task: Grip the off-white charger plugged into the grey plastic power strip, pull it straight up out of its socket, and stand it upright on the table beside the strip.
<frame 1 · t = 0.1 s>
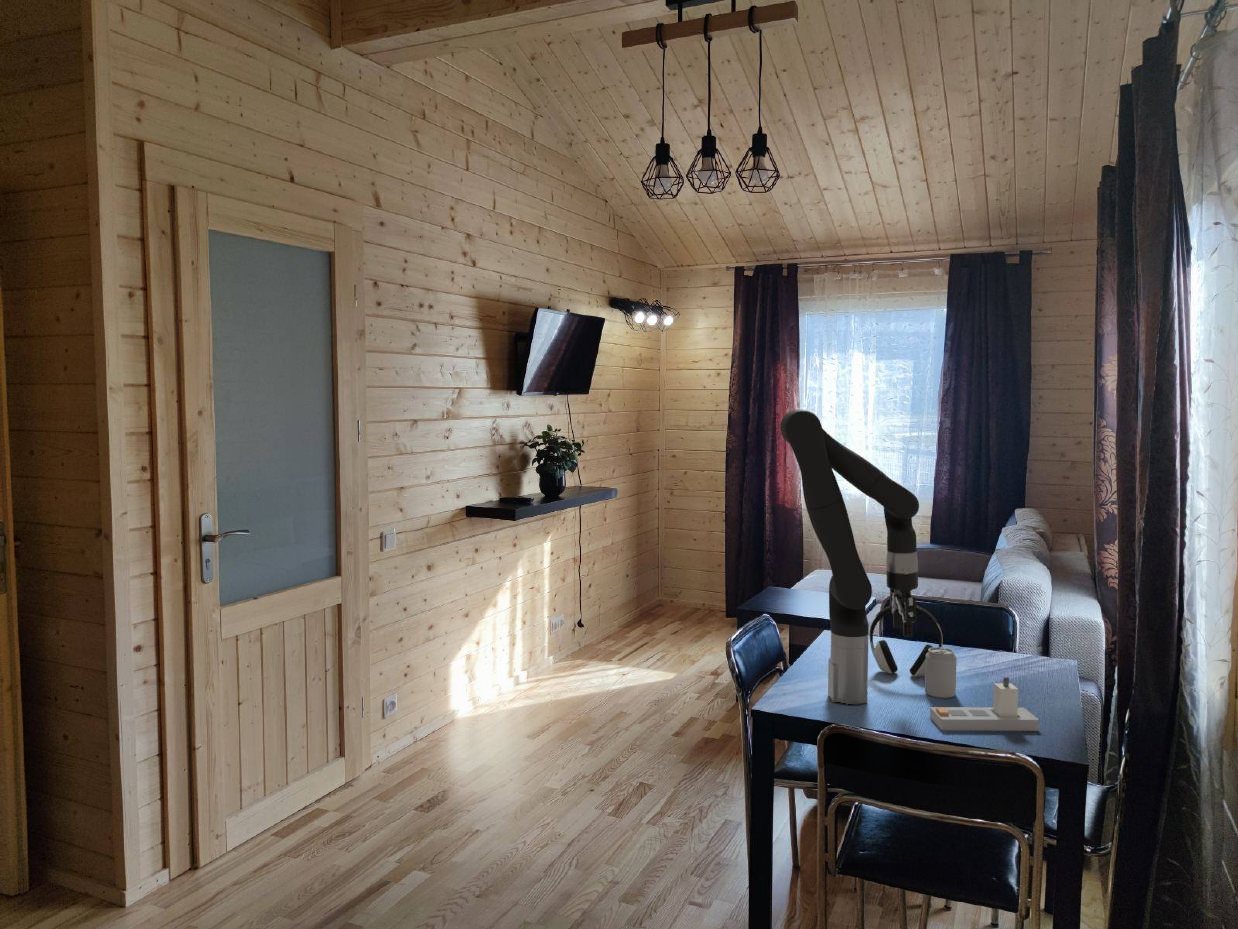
hand: (903, 632, 226), 17 cm above the table, tool pointing down, fingers open, 8 cm apart
headphones: (904, 675, 247), on the table
power strip: (983, 726, 209), on the table
charger: (1004, 724, 209), resting on power strip
can: (940, 696, 230), on the table
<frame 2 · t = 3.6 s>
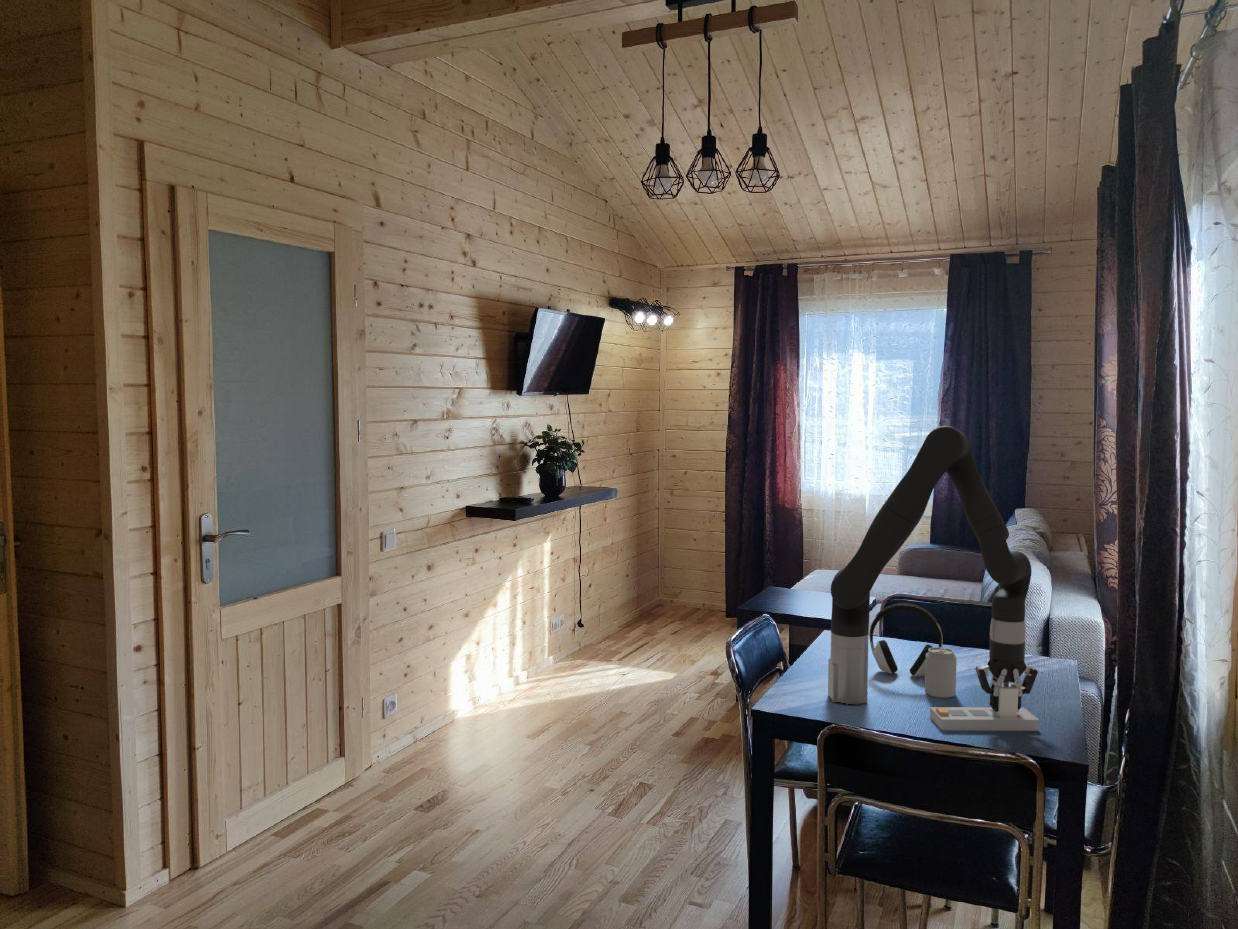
hand: (1005, 710, 208), 4 cm above the table, tool pointing down, fingers closed on charger, 4 cm apart
charger: (1004, 724, 209), resting on power strip, touching gripper
everything else where it was.
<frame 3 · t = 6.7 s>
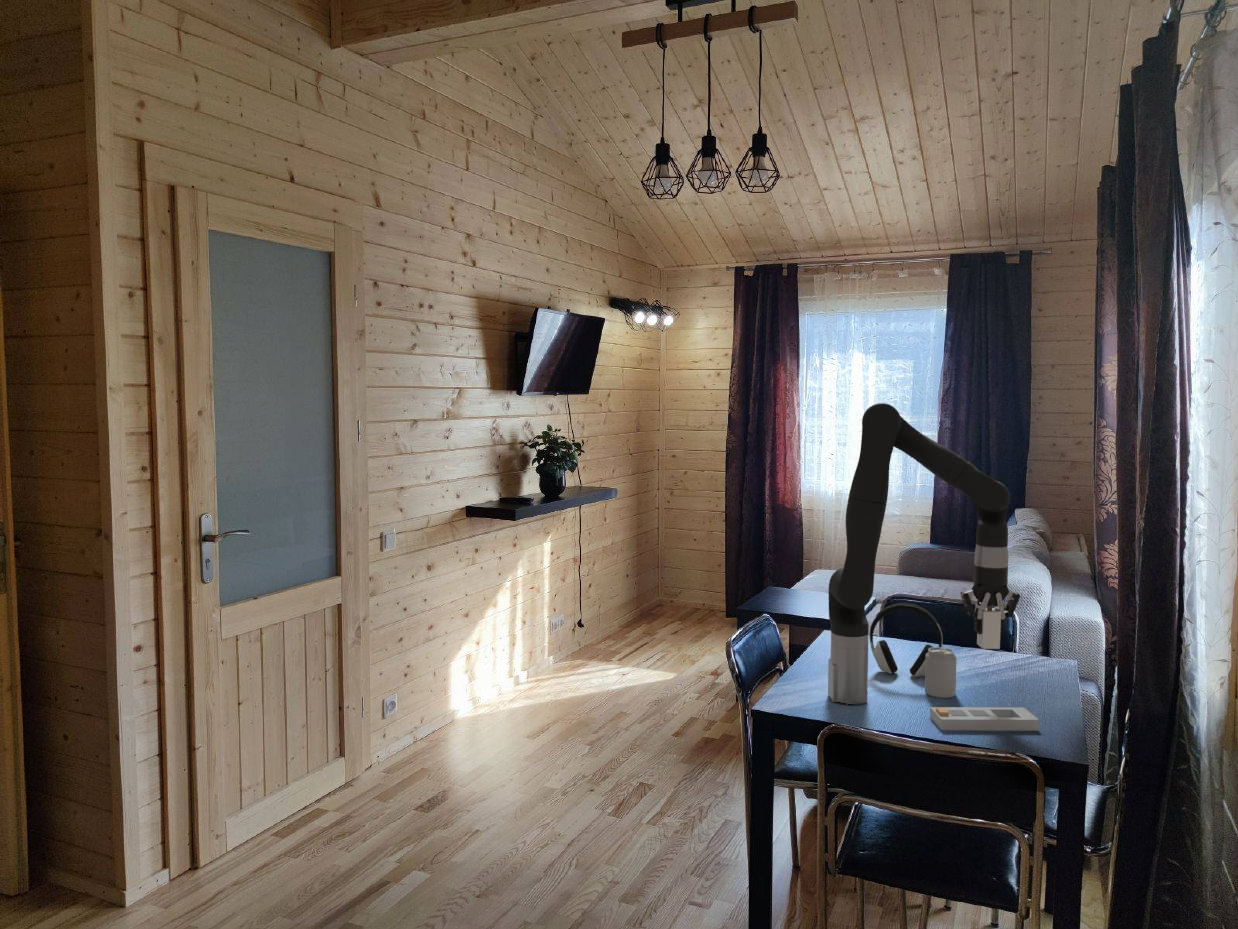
hand: (988, 633, 218), 19 cm above the table, tool pointing down, fingers closed on charger, 4 cm apart
charger: (988, 646, 218), point 16 cm above the table, touching gripper
everything else where it was.
when the fingers open (5 cm above the table, at t = 9.8 s): charger drops 1 cm, on the table.
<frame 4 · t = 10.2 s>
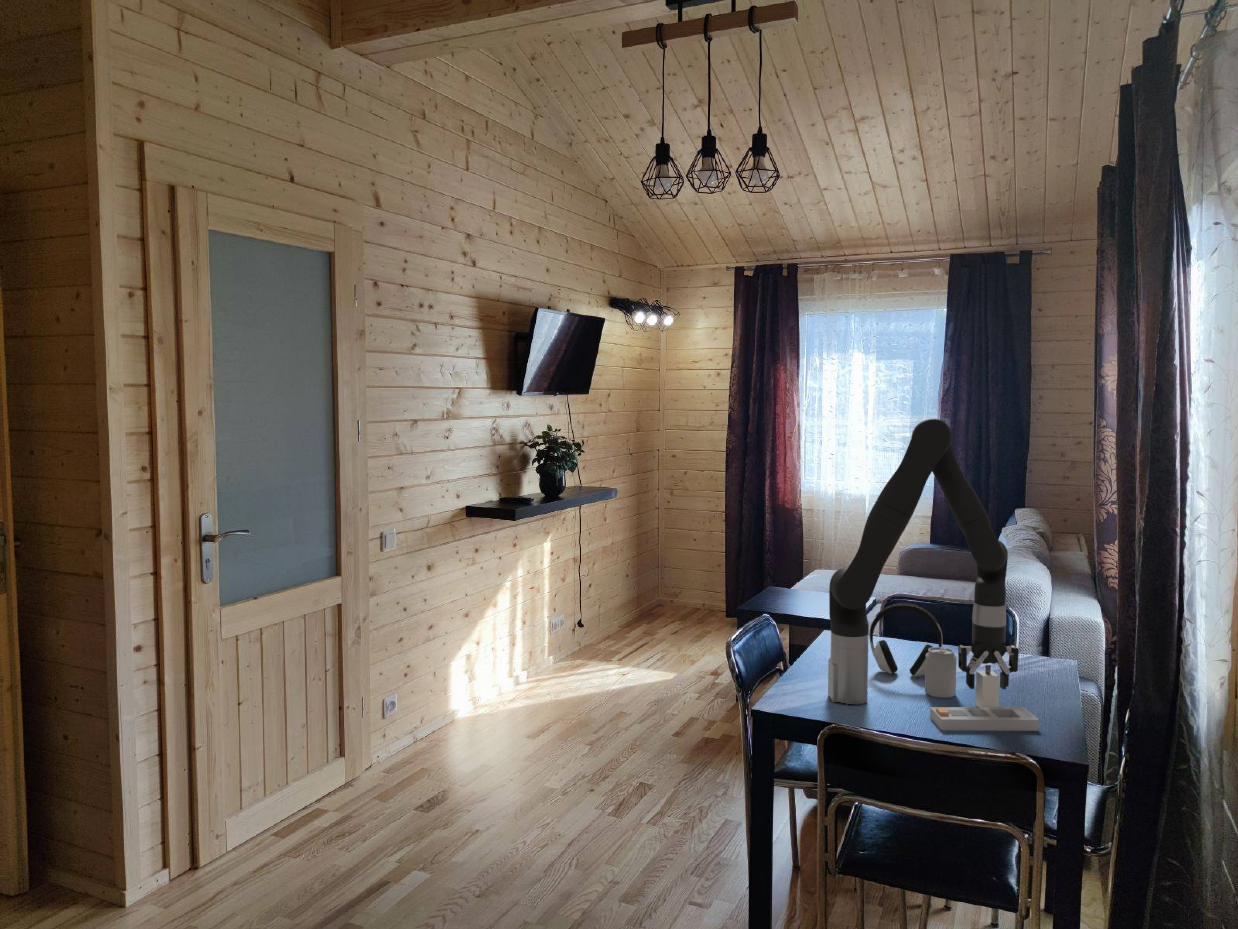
hand: (987, 688, 219), 5 cm above the table, tool pointing down, fingers open, 7 cm apart
charger: (986, 709, 220), on the table
everything else where it was.
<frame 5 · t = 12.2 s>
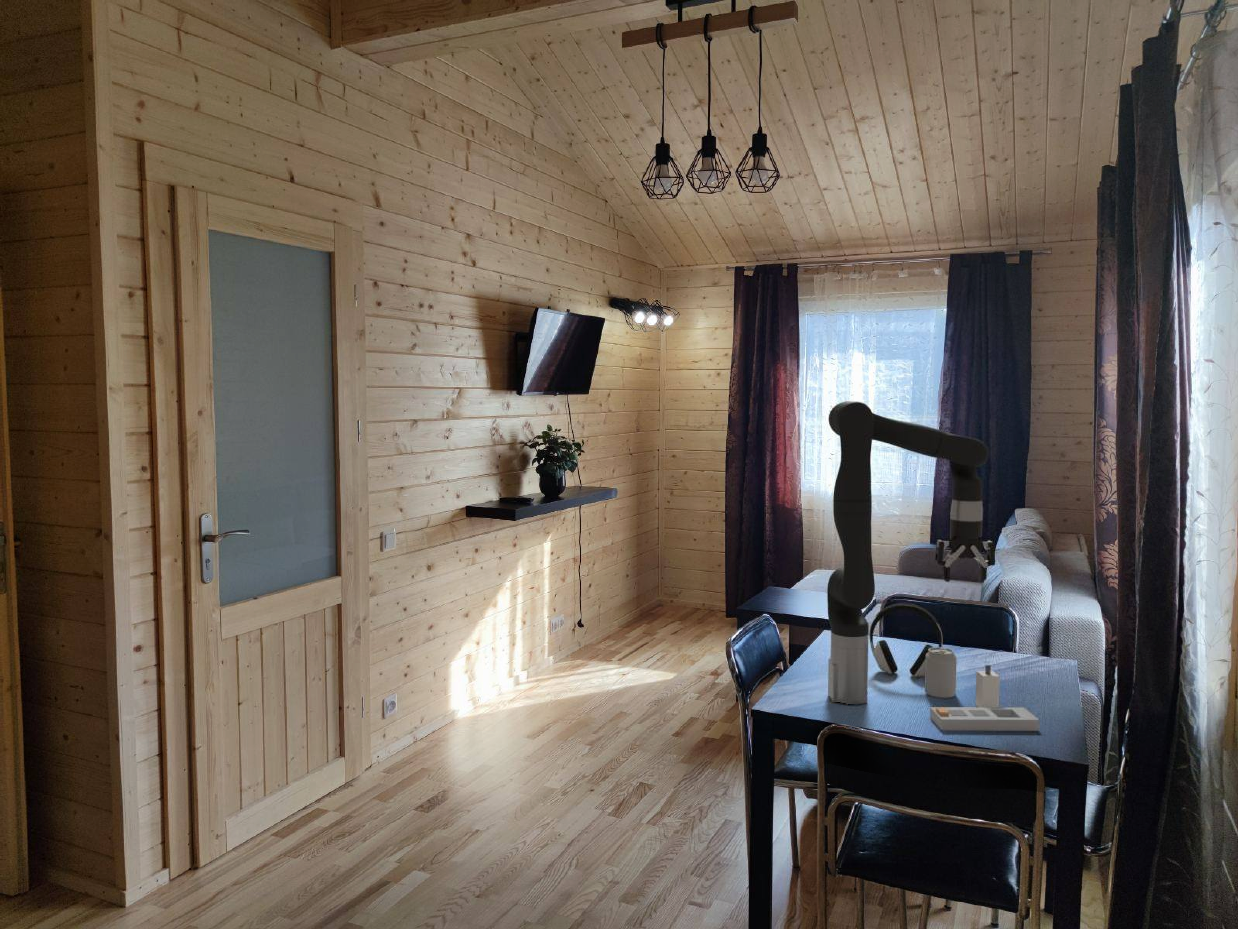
hand: (964, 581, 227), 30 cm above the table, tool pointing down, fingers open, 8 cm apart
nothing on the table moved.
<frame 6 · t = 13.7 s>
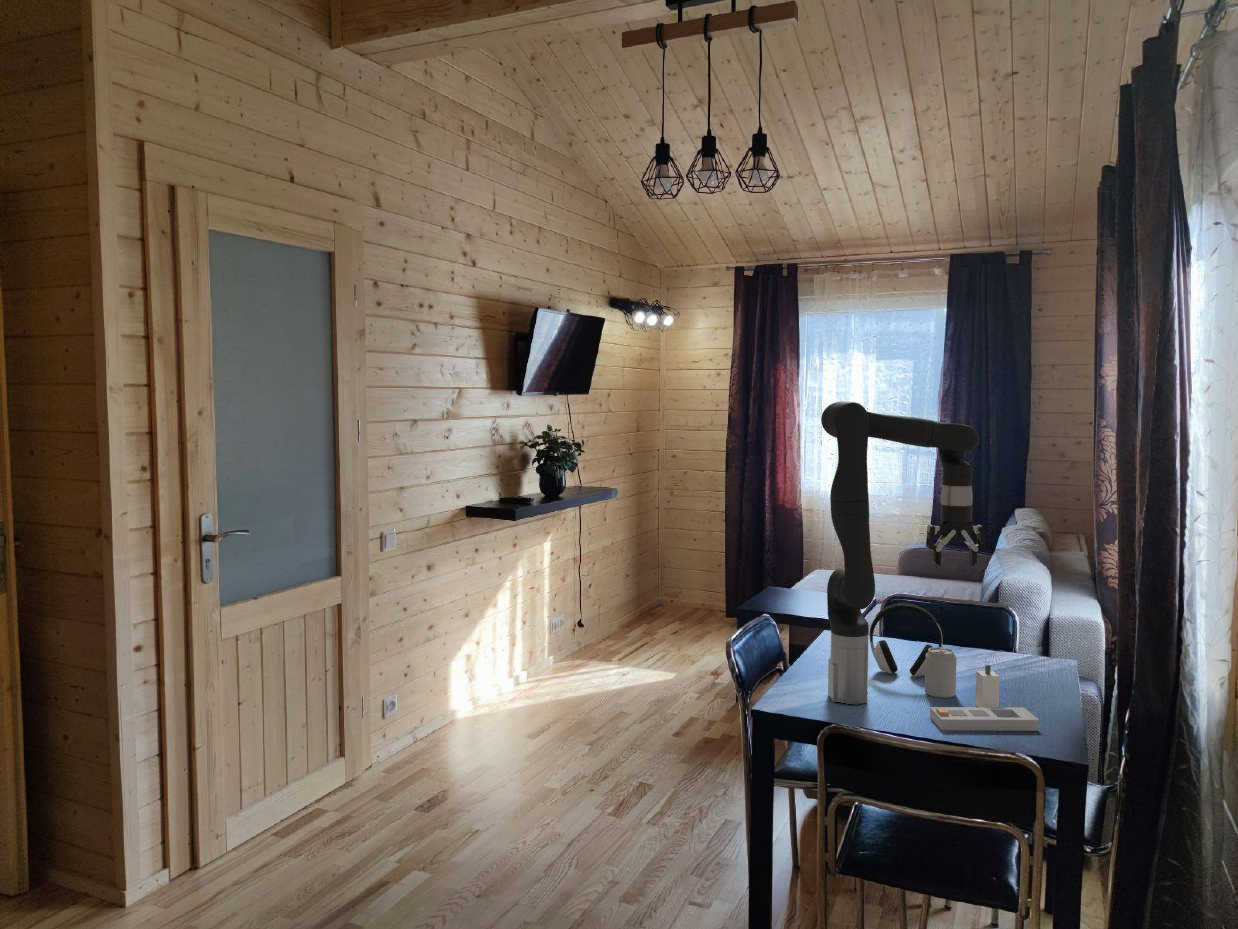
hand: (954, 565, 230), 33 cm above the table, tool pointing down, fingers open, 8 cm apart
nothing on the table moved.
at the end: charger inside the target area (0.1 cm from its centre), on the table; charger tilted 0°; the gripper is holding nothing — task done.
